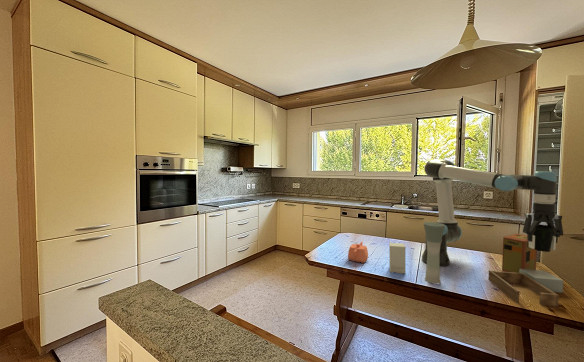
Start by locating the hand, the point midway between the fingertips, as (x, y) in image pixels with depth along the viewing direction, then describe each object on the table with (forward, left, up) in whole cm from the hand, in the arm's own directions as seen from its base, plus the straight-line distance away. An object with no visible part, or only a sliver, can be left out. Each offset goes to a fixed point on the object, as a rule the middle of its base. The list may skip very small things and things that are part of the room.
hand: (541, 248), depth 119 cm
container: (-50, -6, -19) cm, 54 cm away
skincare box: (-66, +2, -19) cm, 69 cm away
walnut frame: (-14, -9, -19) cm, 25 cm away
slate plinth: (0, 0, -19) cm, 19 cm away
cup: (0, 0, -1) cm, 1 cm away
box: (+1, +17, -19) cm, 26 cm away
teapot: (-87, +15, -19) cm, 90 cm away
